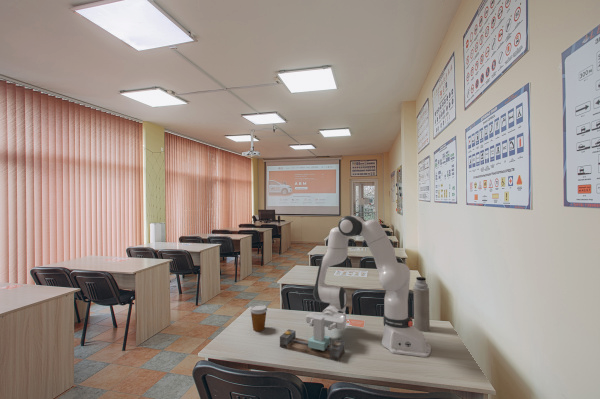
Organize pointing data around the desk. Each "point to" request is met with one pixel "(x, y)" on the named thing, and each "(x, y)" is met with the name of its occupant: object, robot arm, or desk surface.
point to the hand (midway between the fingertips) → (319, 326)
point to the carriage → (319, 335)
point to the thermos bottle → (421, 305)
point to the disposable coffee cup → (258, 317)
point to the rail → (301, 345)
